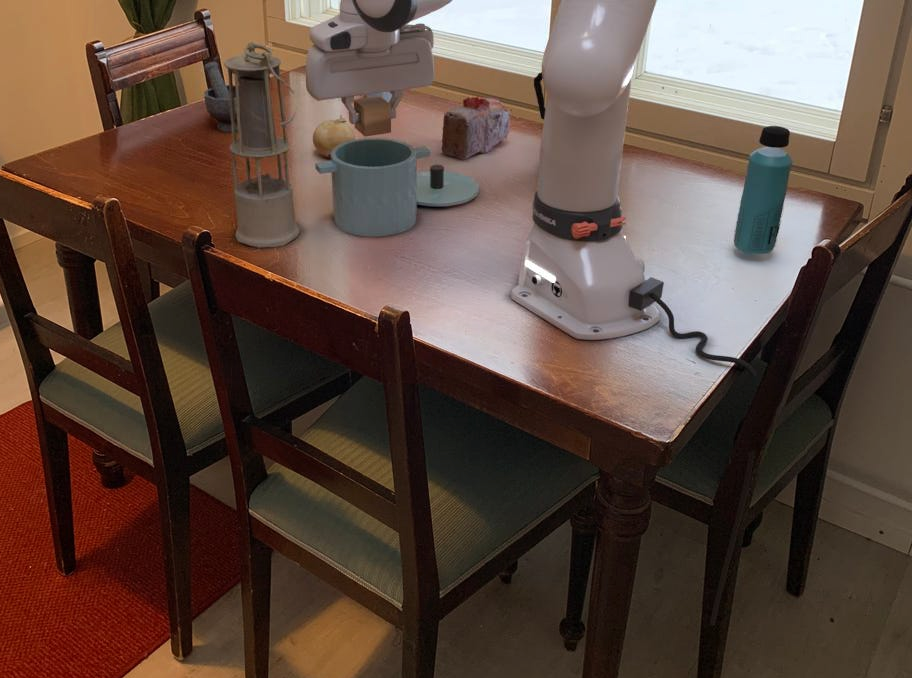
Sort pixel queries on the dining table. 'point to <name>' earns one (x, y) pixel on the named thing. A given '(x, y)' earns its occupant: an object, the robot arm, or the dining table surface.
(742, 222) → the beverage bottle
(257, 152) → the lamp
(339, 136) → the onion
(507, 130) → the food item
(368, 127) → the block
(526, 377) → the dining table surface
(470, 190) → the pot lid
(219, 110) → the mortar and pestle
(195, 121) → the dining table surface
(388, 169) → the pot
